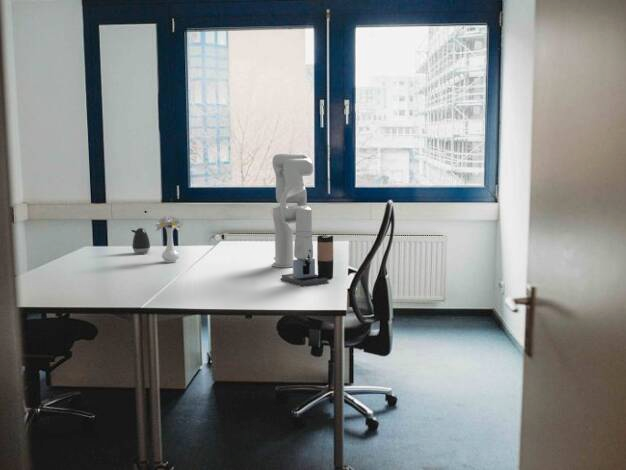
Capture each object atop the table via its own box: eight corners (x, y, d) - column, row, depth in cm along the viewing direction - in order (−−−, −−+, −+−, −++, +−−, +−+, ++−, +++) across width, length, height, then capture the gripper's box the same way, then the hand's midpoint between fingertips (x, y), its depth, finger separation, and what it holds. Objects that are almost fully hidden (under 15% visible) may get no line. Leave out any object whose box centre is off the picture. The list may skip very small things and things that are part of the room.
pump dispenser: (130, 252, 407) (129, 227, 405) (148, 251, 411) (147, 226, 409) (134, 255, 398) (132, 229, 396) (152, 254, 402) (151, 228, 400)
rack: (280, 279, 323) (280, 274, 323) (305, 276, 331) (305, 270, 330) (302, 286, 307) (302, 281, 306) (328, 283, 314) (328, 277, 314)
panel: (293, 277, 317) (293, 260, 316) (311, 274, 322) (311, 258, 321) (296, 278, 314) (296, 261, 313) (314, 275, 320) (314, 259, 319)
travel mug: (320, 279, 322) (319, 237, 320) (315, 276, 330) (315, 235, 327) (335, 278, 324) (335, 236, 322) (330, 275, 332) (330, 234, 329)
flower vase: (185, 258, 384) (184, 214, 381) (178, 264, 366) (176, 218, 363) (162, 258, 385) (161, 214, 382) (154, 264, 367) (152, 218, 363)
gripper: (287, 233, 321) (288, 271, 323) (306, 236, 307) (306, 277, 309) (301, 231, 325) (302, 270, 327) (320, 235, 311) (320, 275, 313)
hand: (304, 273), depth 318 cm, fingers closed on panel, 3 cm apart
